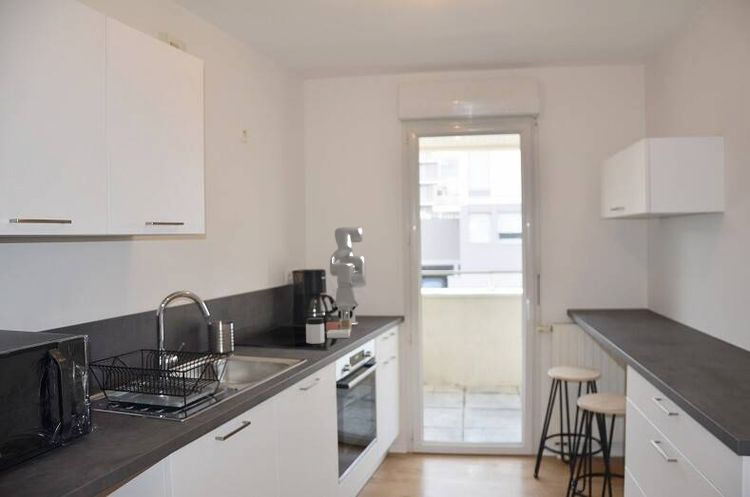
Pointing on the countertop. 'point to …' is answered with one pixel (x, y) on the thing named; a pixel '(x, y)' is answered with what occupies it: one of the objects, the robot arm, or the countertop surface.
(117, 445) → the countertop surface
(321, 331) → the jar
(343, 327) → the beech block wide bore
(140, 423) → the countertop surface
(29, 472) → the countertop surface
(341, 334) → the tray
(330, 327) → the red block small bore
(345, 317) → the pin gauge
